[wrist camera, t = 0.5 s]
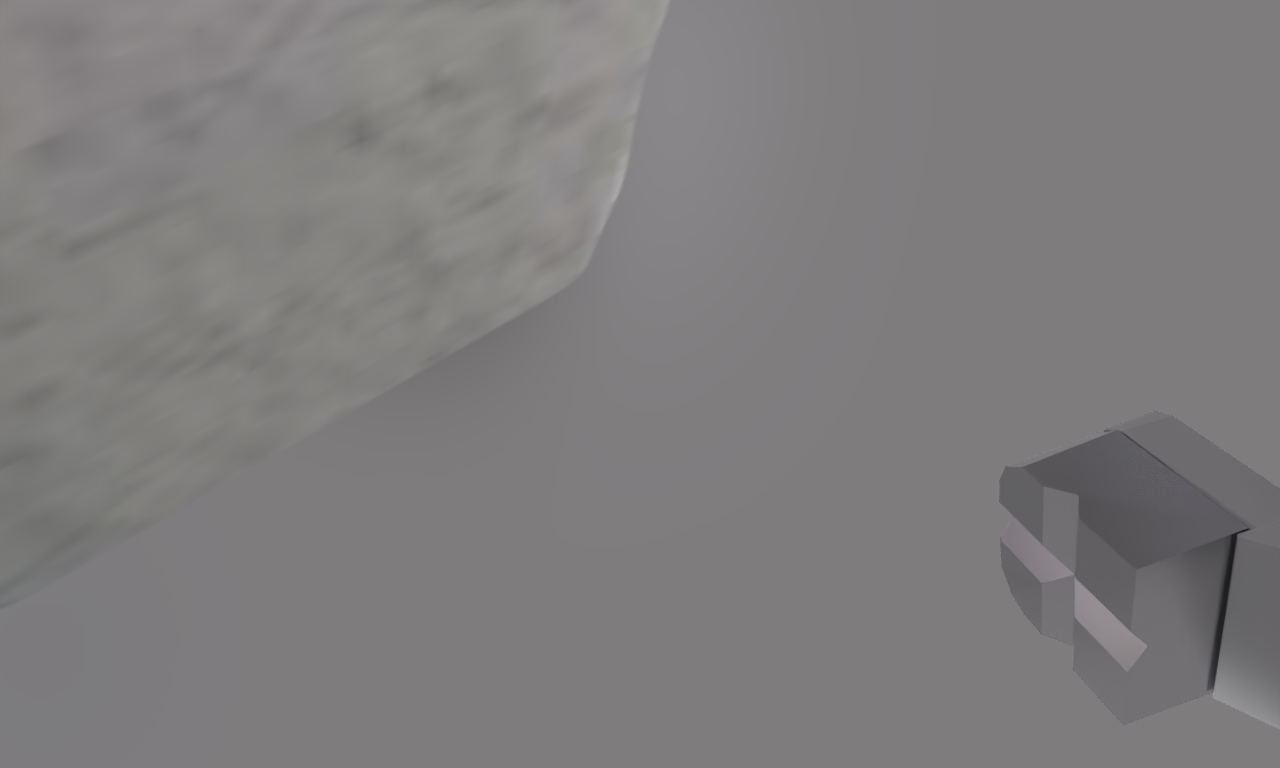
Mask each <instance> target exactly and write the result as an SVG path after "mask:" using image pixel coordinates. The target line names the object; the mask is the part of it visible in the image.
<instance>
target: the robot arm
mask: <svg viewBox="0 0 1280 768" xmlns="http://www.w3.org/2000/svg"><path fill="white" fill-rule="evenodd" d="M999 499H1000V500H999V502H1000V503H1001V504H1002V505H1003V506H1004V507H1005V508H1006V509H1007V510H1008V511H1009V512H1010V513H1011V514H1012V515H1013V516H1014V517H1013V519H1012V520H1011V522H1010V524H1009V525H1008V527H1007V528H1006V530H1005V532H1004V533H1003V535H1002V537H1001V538H1000V546H1001V562H1002V569H1003V571H1004V574H1005V577H1006V580H1007V582H1008V585H1009V588H1010V591H1011V594H1012V595H1013V597H1014V598H1015V600H1016V602H1017V603H1018V605H1019V607H1020V608H1021V610H1022V612H1023V613H1024V615H1025V616H1026V617H1027V618H1028V619H1029V620H1030V621H1031V623H1032V624H1033V625H1034V626H1035V627H1036V628H1037V630H1038V631H1039V632H1040V633H1041V634H1042V635H1045V636H1048V637H1050V638H1053V639H1056V640H1058V641H1061V642H1064V643H1067V644H1069V645H1072V646H1073V670H1074V671H1075V672H1076V673H1077V674H1078V676H1079V677H1080V678H1081V679H1082V680H1083V681H1084V682H1085V683H1086V684H1087V685H1088V687H1089V688H1090V689H1091V690H1092V691H1093V692H1094V693H1095V694H1096V695H1097V696H1098V698H1099V699H1100V700H1101V701H1102V702H1103V703H1104V704H1105V705H1106V706H1107V707H1108V709H1109V710H1110V711H1111V712H1112V713H1113V714H1114V715H1115V716H1116V717H1117V719H1118V720H1119V721H1120V722H1121V723H1122V724H1123V725H1125V724H1128V723H1131V722H1134V721H1136V720H1139V719H1142V718H1145V717H1147V716H1150V715H1153V714H1155V713H1158V712H1161V711H1163V710H1166V709H1169V708H1172V707H1174V706H1177V705H1179V704H1182V703H1185V702H1188V701H1191V700H1193V699H1196V698H1199V697H1201V696H1204V695H1207V694H1210V693H1212V692H1214V693H1213V698H1214V699H1217V700H1219V701H1221V702H1223V703H1225V704H1228V705H1229V706H1232V707H1234V708H1236V709H1238V710H1240V711H1242V712H1244V713H1247V714H1248V715H1251V716H1253V717H1255V718H1257V719H1259V720H1261V721H1263V722H1266V723H1268V724H1270V725H1272V726H1274V727H1276V728H1278V729H1280V488H1278V487H1277V486H1276V485H1274V484H1273V483H1271V482H1270V481H1268V480H1267V479H1265V478H1264V477H1262V476H1261V475H1259V474H1258V473H1256V472H1255V471H1253V470H1252V469H1250V468H1249V467H1248V466H1246V465H1245V464H1243V463H1242V462H1240V461H1239V460H1237V459H1236V458H1234V457H1233V456H1231V455H1230V454H1228V453H1227V452H1225V451H1224V450H1222V449H1221V448H1220V447H1218V446H1217V445H1215V444H1214V443H1212V442H1211V441H1209V440H1208V439H1206V438H1205V437H1203V436H1202V435H1200V434H1199V433H1197V432H1196V431H1195V430H1193V429H1192V428H1190V427H1189V426H1187V425H1186V424H1184V423H1183V422H1181V421H1180V420H1178V419H1177V418H1175V417H1174V416H1172V415H1170V414H1166V413H1162V412H1158V411H1153V412H1150V413H1147V414H1145V415H1142V416H1140V417H1137V418H1134V419H1131V420H1129V421H1126V422H1124V423H1120V424H1118V425H1115V426H1113V427H1110V428H1107V429H1105V430H1104V431H1103V432H1099V433H1095V434H1092V435H1089V436H1087V437H1084V438H1081V439H1079V440H1076V441H1073V442H1070V443H1068V444H1065V445H1062V446H1059V447H1057V448H1054V449H1052V450H1049V451H1046V452H1044V453H1040V454H1038V455H1035V456H1032V457H1030V458H1027V459H1024V460H1022V461H1019V462H1016V463H1013V464H1011V465H1008V466H1006V467H1005V469H1004V471H1003V473H1002V476H1001V478H1000V496H999Z"/></svg>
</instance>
